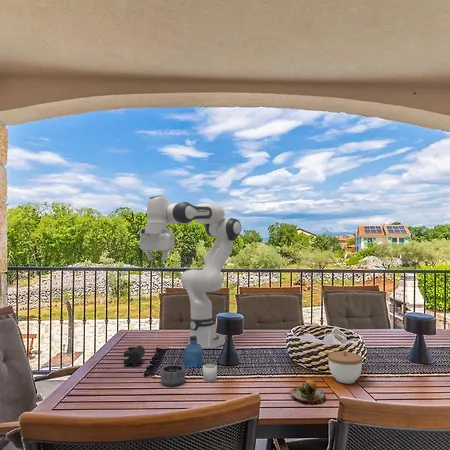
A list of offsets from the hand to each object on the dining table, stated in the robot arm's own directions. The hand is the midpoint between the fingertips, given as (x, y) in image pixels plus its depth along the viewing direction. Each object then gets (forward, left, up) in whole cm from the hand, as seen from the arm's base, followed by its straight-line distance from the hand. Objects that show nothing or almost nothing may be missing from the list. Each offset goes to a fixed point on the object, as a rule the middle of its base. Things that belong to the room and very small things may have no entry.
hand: (156, 260), depth 171 cm
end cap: (+9, -3, -46) cm, 47 cm away
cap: (-1, +35, -45) cm, 57 cm away
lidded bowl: (-36, +74, -46) cm, 94 cm away
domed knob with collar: (+11, +27, -45) cm, 54 cm away
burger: (-12, +72, -46) cm, 86 cm away
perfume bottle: (-8, +17, -46) cm, 49 cm away
